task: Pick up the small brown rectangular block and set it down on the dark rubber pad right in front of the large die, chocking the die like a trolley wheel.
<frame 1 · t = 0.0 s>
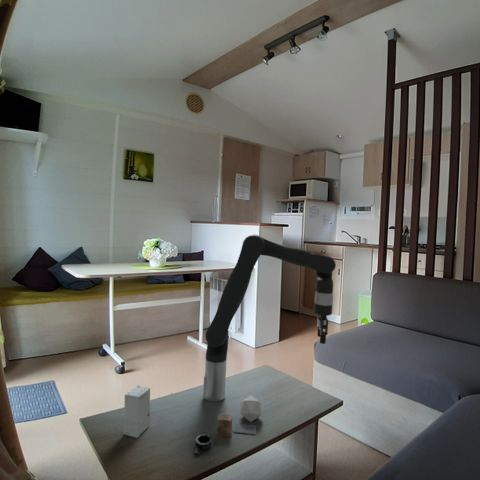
hand: (321, 339, 149), 29 cm above the table, fingers open, 8 cm apart
pad: (245, 429, 132), on the table
brown rectangular block: (224, 432, 129), on the table
black round bracket: (203, 448, 121), on the table
skincare box: (136, 430, 128), on the table
die: (250, 418, 140), on the table
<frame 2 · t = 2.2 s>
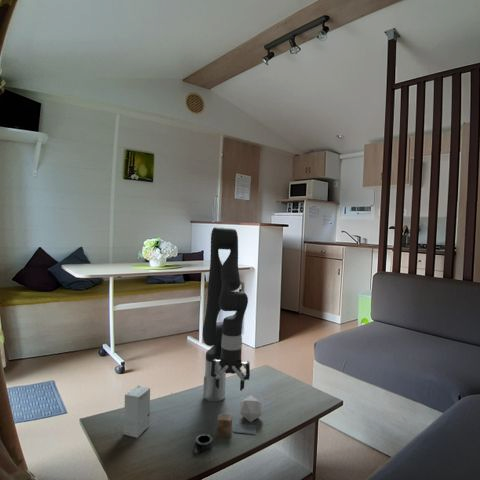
hand: (229, 388, 129), 17 cm above the table, fingers open, 8 cm apart
nothing on the table moved.
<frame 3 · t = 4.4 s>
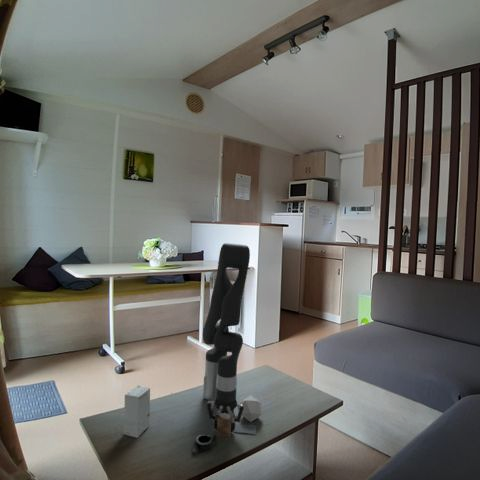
hand: (224, 430, 129), 1 cm above the table, fingers closed on brown rectangular block, 5 cm apart
brown rectangular block: (224, 432, 129), on the table, touching gripper
everything else where it was.
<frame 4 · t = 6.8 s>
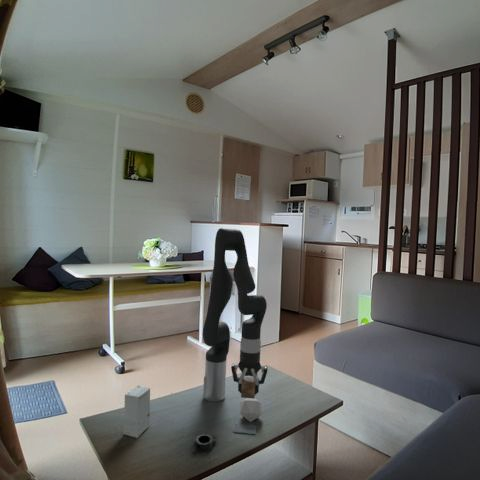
hand: (248, 392, 131), 14 cm above the table, fingers closed on brown rectangular block, 5 cm apart
brown rectangular block: (248, 395, 131), point 13 cm above the table, touching gripper
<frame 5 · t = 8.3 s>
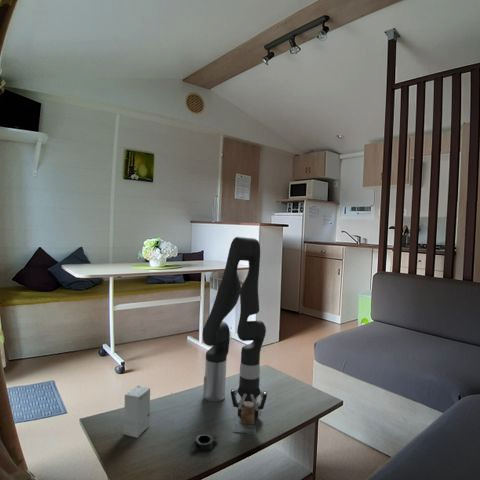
hand: (247, 417, 131), 5 cm above the table, fingers closed on brown rectangular block, 5 cm apart
brown rectangular block: (247, 420, 131), point 4 cm above the table, touching gripper
when the fingers open (3 cm above the table, at t = 9.2 s): brown rectangular block drops 1 cm, resting on pad.
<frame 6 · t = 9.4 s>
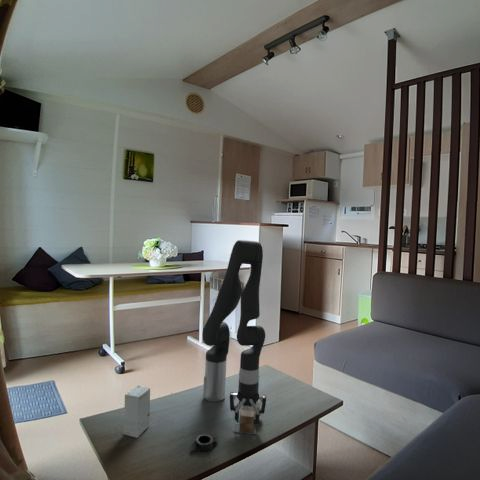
hand: (246, 421, 131), 3 cm above the table, fingers open, 6 cm apart
brown rectangular block: (246, 428, 131), resting on pad
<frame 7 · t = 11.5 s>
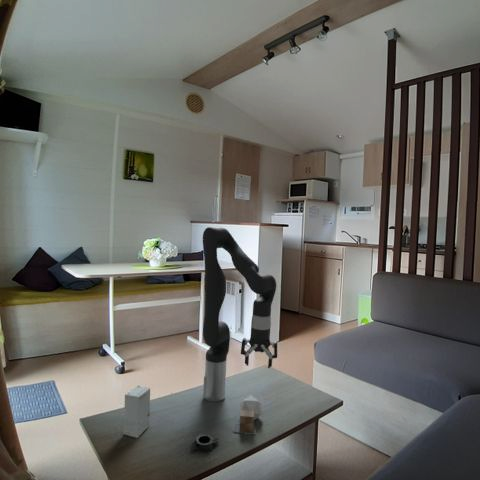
hand: (258, 366, 137), 22 cm above the table, fingers open, 8 cm apart
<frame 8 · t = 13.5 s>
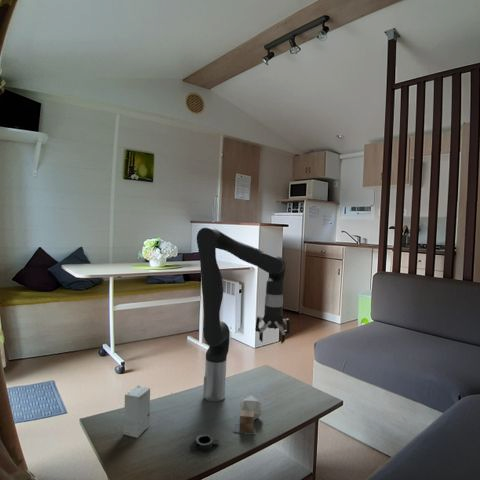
hand: (271, 342, 147), 28 cm above the table, fingers open, 8 cm apart
at the end: brown rectangular block inside the target area on the table beside the die (0.4 cm from its centre), point 0.6 cm above the table; brown rectangular block tilted 0°; die moved 0.2 cm from its start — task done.
